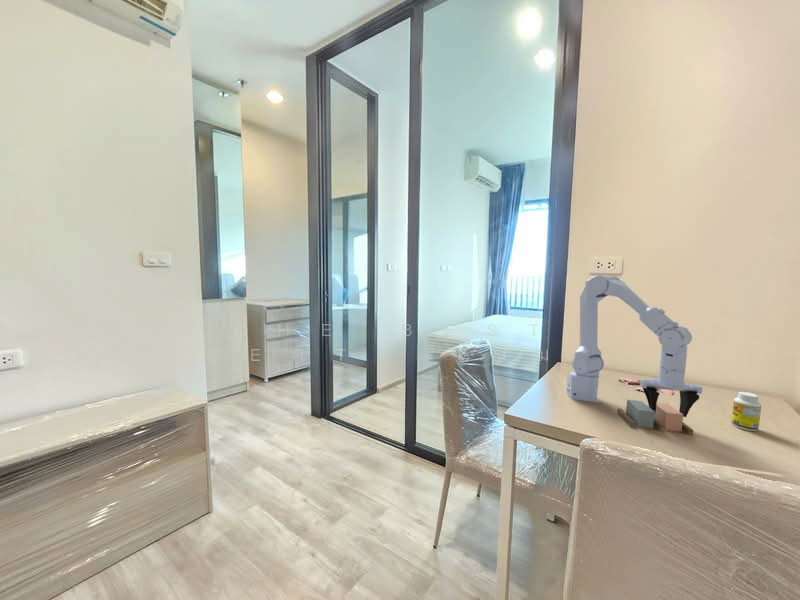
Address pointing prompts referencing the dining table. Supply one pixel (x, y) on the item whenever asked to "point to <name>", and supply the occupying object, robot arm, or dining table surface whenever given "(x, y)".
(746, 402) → the supplement bottle
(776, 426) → the dining table surface
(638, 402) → the slate block
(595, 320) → the robot arm
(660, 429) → the comb rack
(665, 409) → the plug block
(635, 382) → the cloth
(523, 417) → the dining table surface
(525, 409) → the dining table surface
